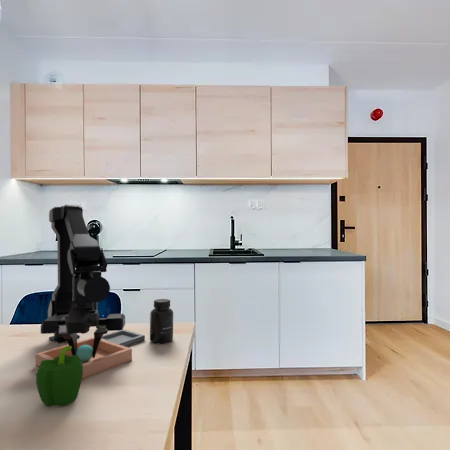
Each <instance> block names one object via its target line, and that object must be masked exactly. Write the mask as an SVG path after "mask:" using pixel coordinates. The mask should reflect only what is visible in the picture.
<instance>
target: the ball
mask: <svg viewBox="0 0 450 450" xmlns="http://www.w3.org/2000/svg"><path fill="white" fill-rule="evenodd" d="M76 355H78V356H79V358H80V359H81V362H86V361H89V360H90V359H91V358H92V356H93V348H92V347H91V346H89V345H82V346H80V347H79V348H78V349H77V352H76Z"/></svg>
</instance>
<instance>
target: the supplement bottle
mask: <svg viewBox="0 0 450 450" xmlns="http://www.w3.org/2000/svg"><path fill="white" fill-rule="evenodd" d="M170 307H171V299H167V298H158V299H155V300H153V309H152V310H150V312H149V313H150V314H149V316H150V317H149V341H150V342H151V343H152V344H155V345H166V344H169V343H171V342H172V341H173V339H174V310H173V309H172V308H170Z"/></svg>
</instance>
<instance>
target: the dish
mask: <svg viewBox="0 0 450 450" xmlns="http://www.w3.org/2000/svg"><path fill="white" fill-rule="evenodd" d="M93 344H94V336H93V337H89V338H85V339H82V340H77V349H78V348H79V347H80V346H82V345H89V346H91V347H92V348H93ZM66 346H69V345H68V344H65V345H61V346H58V347H55V348H51V349H47V350H44V351H41V352H37V353H35V367H36V368H37V369H38V368H39V366H40V364H41V361H44V360H53V359H54V358H55V357H58V356H60V353H61V351H62V349H63V348H65V347H66ZM65 355H68V356H73V355H72V352H71V350H70V351H67V352H66V353H65ZM131 361H133V348H130V347H129V346H128V347H125V346H122V345H119V344H116V343H113V342H110V341H107V340H104V339H101V341H100V344H99V347H98V350H97V353H96V356H95V358H93V356H92V358H91V359H90V360H89V361H86V362H82V365H83V376H82V381H84V380H86V379H89V378H91V377H94V376H97V375H99V374H102V373H103V372H106V371H108V370H112V369H114V368H116V367H119V366H121V365H124V364H126V363H127V364H128V363H129V362H131Z"/></svg>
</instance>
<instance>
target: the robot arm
mask: <svg viewBox="0 0 450 450" xmlns="http://www.w3.org/2000/svg"><path fill="white" fill-rule="evenodd" d="M83 215H84V214H83V207H82V205H81V206H80V205H78V204H77V205H76V204H64V205H61V206H54V207H52V208H51V209H50V210H49V212H48V221H49V223H51V225H50V226H51V229H52V231H53V232H54V234H55V235H56V239H57V242H56V243H57V246H56V247H57V286H56V288H55V289H54V290H53V292H52V294H51V300H50V302H49V305H48V309H47V318H46V319H45V320H43V321H42V322H41V324H40V334H42V335H47V334H53V336H49V337H48V340H51V341H53V342H56V343H59V344H61V343H65V342H66V343H67V345H69V346H72V349H71V352H72V355H76V352H77V342H78V339H79V338H81V336H80V335H79V334H82V335H84V334H87V333H89V332H90V328H93V327H94V328H96V329H95V331H94V332H93V337H94V344H93V358H95V356H96V353H97V350H98V347H99V344H100V341H101V338H102V336H103V335H106V334H108V333H109V332H113V331H114V332H116V331H119V330H123V329H124V327H125V325H126V315H125V314H124V313H109V314H108V315H107V317H106V318H105V317H101V318H100V312H99V310H98V303H99V302H102V301H104V300H105V299H106V298H107V297H108V296H109V294H110V291H111V285H110V283H109V281H108V280H107V278H104V277H102V273H106V272H107V267H108V263H107V258H106V256H105V253H104V252H103V249H102V248H101V246H100V244H99V242H98V240H97V239H95V238H93V237H92V236H90V234H89V230H88V228H87V224H86V221H85V218H84V216H83Z"/></svg>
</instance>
